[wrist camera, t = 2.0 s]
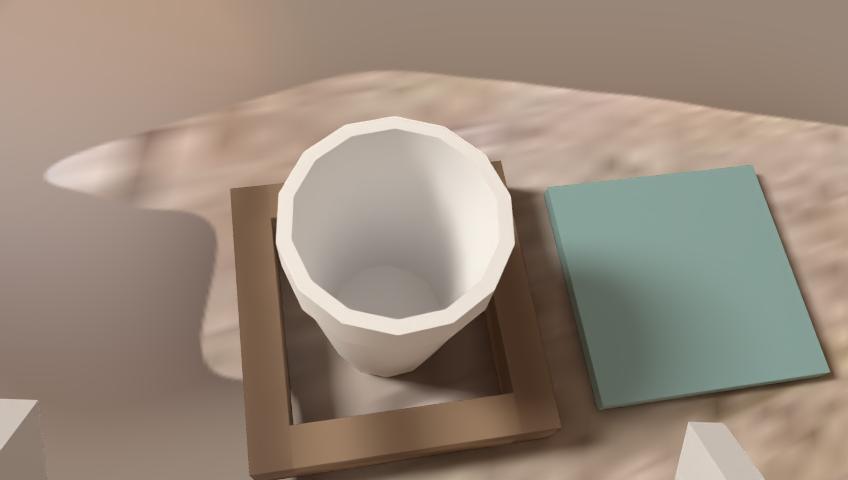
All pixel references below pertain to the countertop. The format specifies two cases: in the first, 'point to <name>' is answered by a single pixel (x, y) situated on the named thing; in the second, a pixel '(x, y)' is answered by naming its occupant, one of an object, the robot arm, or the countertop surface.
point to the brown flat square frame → (391, 430)
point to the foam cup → (393, 239)
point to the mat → (680, 286)
